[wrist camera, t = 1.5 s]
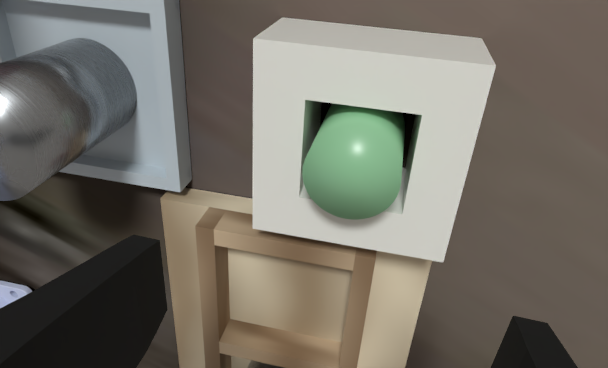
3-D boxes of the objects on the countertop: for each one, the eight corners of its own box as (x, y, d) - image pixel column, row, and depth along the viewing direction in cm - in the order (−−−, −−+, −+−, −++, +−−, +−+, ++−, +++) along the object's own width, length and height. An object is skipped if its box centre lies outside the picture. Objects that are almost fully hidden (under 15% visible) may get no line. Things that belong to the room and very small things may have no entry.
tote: (36, 153, 23) (18, 164, 22) (-10, -27, 19) (-35, -23, 18) (192, 179, 21) (180, 192, 20) (178, -8, 17) (163, -3, 16)
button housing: (276, 183, 20) (252, 228, 18) (282, 17, 17) (253, 38, 14) (439, 209, 19) (443, 262, 16) (481, 38, 16) (495, 65, 13)
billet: (60, 124, 21) (-57, 190, 16) (39, 32, 19) (-101, 74, 14) (142, 136, 20) (49, 209, 15) (130, 43, 18) (18, 91, 13)
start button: (322, 157, 19) (299, 211, 15) (328, 84, 17) (305, 125, 14) (398, 168, 18) (392, 226, 15) (411, 94, 17) (409, 139, 13)
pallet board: (191, 380, 29) (171, 420, 27) (172, 185, 22) (143, 216, 19) (386, 426, 27) (383, 473, 25) (434, 229, 20) (436, 269, 18)
